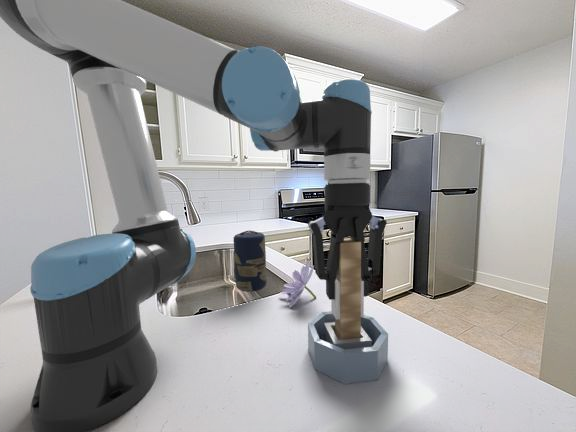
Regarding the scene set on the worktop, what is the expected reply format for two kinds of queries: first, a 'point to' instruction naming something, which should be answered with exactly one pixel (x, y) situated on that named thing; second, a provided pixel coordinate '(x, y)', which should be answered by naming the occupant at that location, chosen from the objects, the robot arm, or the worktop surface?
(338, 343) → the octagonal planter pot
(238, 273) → the canister
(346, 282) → the square wooden post
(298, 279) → the water lily
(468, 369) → the worktop surface
